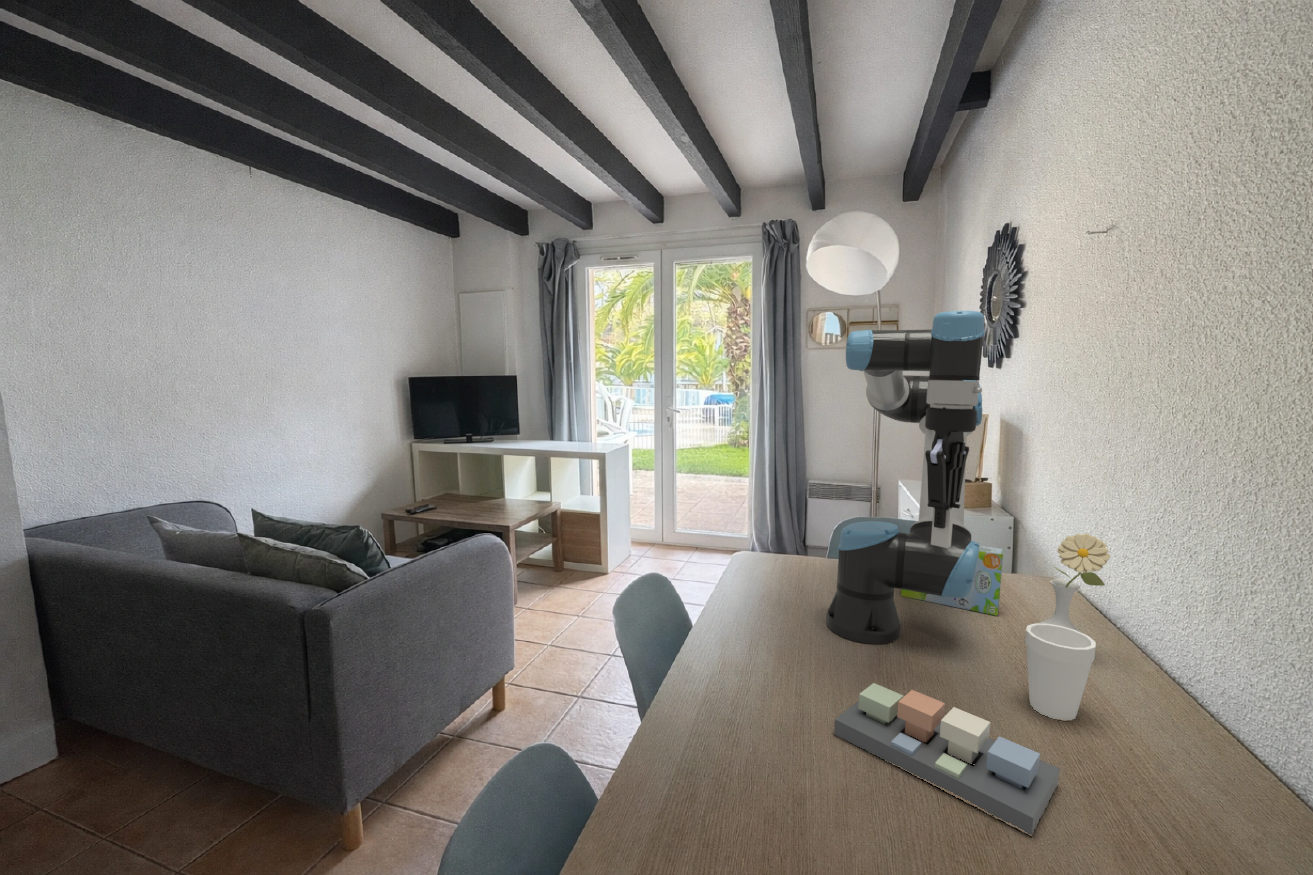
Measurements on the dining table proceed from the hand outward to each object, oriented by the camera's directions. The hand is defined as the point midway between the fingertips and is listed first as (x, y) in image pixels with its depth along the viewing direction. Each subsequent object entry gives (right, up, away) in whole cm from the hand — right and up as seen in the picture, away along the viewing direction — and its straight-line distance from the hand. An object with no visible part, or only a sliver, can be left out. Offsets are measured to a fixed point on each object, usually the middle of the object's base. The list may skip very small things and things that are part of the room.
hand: (940, 545), depth 96 cm
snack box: (+23, -23, +43) cm, 54 cm away
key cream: (-5, -26, -17) cm, 31 cm away
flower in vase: (+35, -25, +19) cm, 47 cm away
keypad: (-7, -28, -14) cm, 32 cm away
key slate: (-1, -28, -21) cm, 35 cm away
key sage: (-14, -26, -8) cm, 31 cm away
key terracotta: (-9, -25, -12) cm, 30 cm away
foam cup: (+18, -27, -2) cm, 33 cm away
